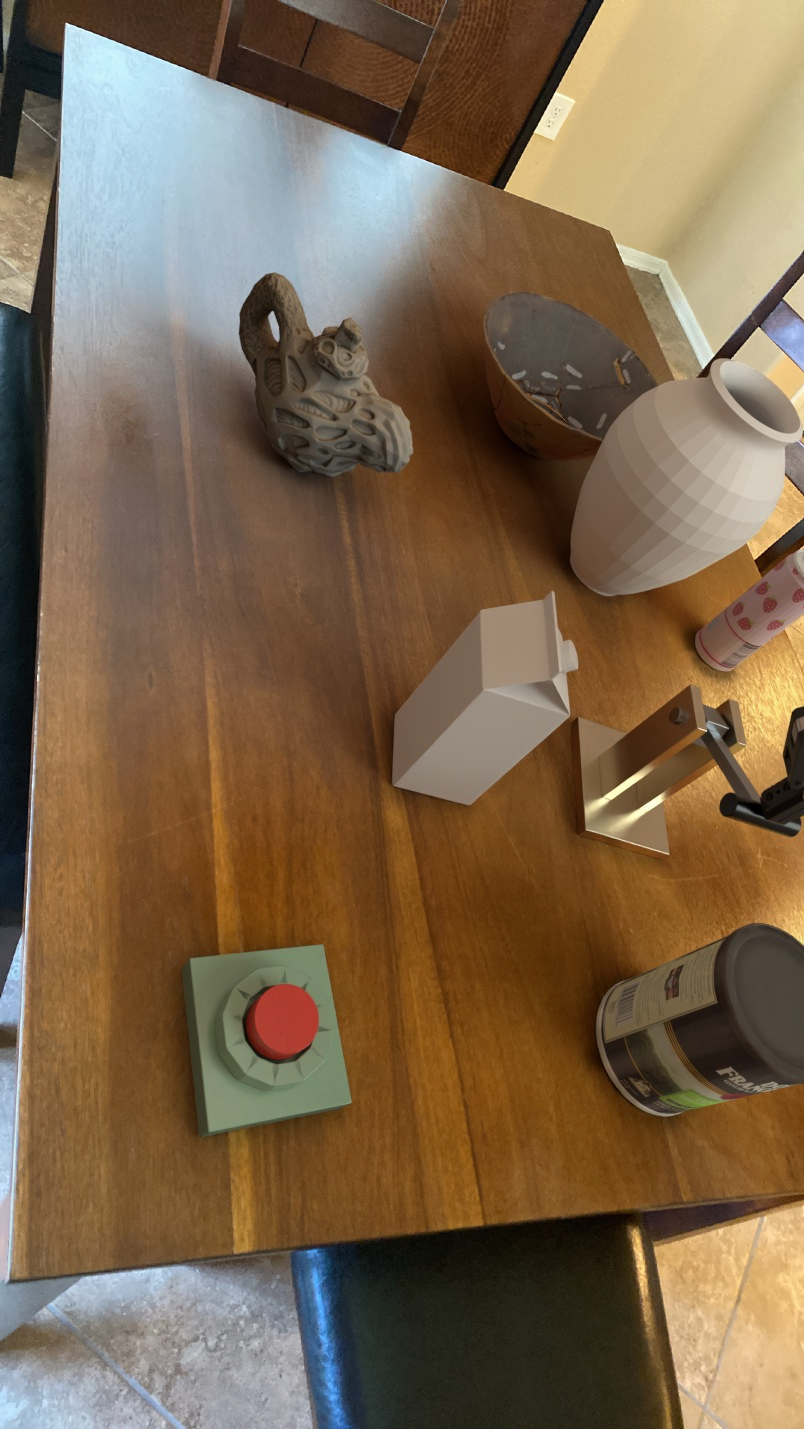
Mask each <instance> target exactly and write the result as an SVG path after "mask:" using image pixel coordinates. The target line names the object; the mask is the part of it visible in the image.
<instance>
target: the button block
mask: <svg viewBox="0 0 804 1429" xmlns="http://www.w3.org/2000/svg"><path fill="white" fill-rule="evenodd" d="M324 947H325V946H324V944H323V943H321V944H319V943H318V944H309V945H301V946H292V947H291V946H290V947H281V948H273V949H264V950H253V951H245V952H243V951H242V952H235V953H225V954H216V955H207V956H196V957H190V958H189V959H188V960H187V961H186V962H185V963H184V965H183V966H182V967H181V976H182V984H183V985H182V986H183V993H184V1003H185V1013H186V1023H187V1033H188V1043H189V1051H190V1061H191V1071H192V1080H193V1091H194V1099H195V1100H194V1101H195V1109H196V1118H197V1128H198V1137H199V1138H204V1137H210V1136H214V1135H219V1134H224V1133H229V1132H234V1131H239V1130H244V1129H248V1128H255V1127H257V1126H263V1125H268V1124H272V1123H273V1124H274V1123H277V1122H282V1121H287V1120H293V1119H298V1118H302V1117H307V1116H313V1115H316V1114H321V1113H327V1112H331V1111H335V1110H340V1109H342V1108H344V1107H346V1106H349V1105H351V1104H352V1102H353V1100H352V1096H351V1090H350V1086H349V1079H348V1074H347V1068H346V1063H345V1058H344V1051H343V1047H342V1041H341V1040H342V1039H341V1036H340V1030H339V1024H338V1019H337V1012H336V1007H335V1001H334V998H333V997H334V996H333V991H332V985H331V979H330V974H329V968H328V964H327V957H326V951H325V948H324ZM280 984H291V985H295V986H298V987H300V988H302V989H303V990H304V991H306V992H307V993H308V994H309V995H310V996H311V997H312V999H313V1001H314V1002H315V1004H316V1007H317V1010H318V1015H319V1025H318V1030H317V1033H316V1035H315V1037H314V1039H313V1041H312V1042H311V1043H310V1044H309V1045H308V1046H307V1047H306V1048H305V1049H303V1050H301V1051H300V1052H298V1053H297V1054H295V1055H293V1056H292V1057H289V1058H287V1059H281V1060H275V1059H270V1058H267V1057H265V1056H263V1055H262V1054H260V1053H259V1052H258V1051H257V1050H256V1049H255V1048H254V1047H253V1045H252V1044H251V1042H250V1040H249V1038H248V1035H247V1030H246V1019H247V1015H248V1011H249V1009H250V1007H251V1006H252V1004H253V1003H254V1002H255V1000H257V999H258V998H259V997H260V996H261V995H262V994H263V993H265V992H266V991H267V990H268V989H270V988H272V987H273V986H276V985H280Z"/></svg>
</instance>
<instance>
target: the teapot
mask: <svg viewBox="0 0 804 1429" xmlns="http://www.w3.org/2000/svg"><path fill="white" fill-rule="evenodd" d="M272 312H273V314H274V317H275V320H276V324H277V326H278V338H279V339H278V340H277V339H276V338H275V336H274V333H273V330H272V326H271V321H270V319H269V316H270V315H271V313H272ZM238 315H239V316H238V317H239V323H238V324H239V326H238V337H239V343H240V347H241V351H242V353H243V355H244V358H245V359H246V361H247V362H248V364H249V366H250V368H251V371H252V373H253V375H254V382H255V386H254V405H255V407H256V412H257V414H258V415H257V416H258V419H259V423H260V425H261V427H262V429H263V432H264V433H265V435H266V437H267V439H268V441H269V442H270V444H271V446H272V447H273V449H274V451H275V453H277V454H278V455H279V456H281V457H282V458H284V459H285V460H286V461H287V462H288V463H289V465H290V466H291V467H293V469H295V470H296V471H297V472H298V473H308V472H312V471H313V472H315V473H317V474H322V475H324V476H326V477H328V478H334V477H337V476H339V475H341V474H342V473H348V472H350V471H353V470H354V469H355V468H356V466H357V465H358V464H359V465H361V466H362V467H365V468H368V469H371V471H374V472H376V473H379V474H381V473H385V474H386V473H395V474H398V475H400V473H401V471H403V469H404V468H405V467H406V465H408V463H409V462H410V461H411V460H410V459H411V456H412V455H413V454H414V447H413V432H412V431H411V421H410V420H409V419H408V417H407V416H406V415H405V413H404V411H403V409H402V406H400V405H398V404H396V403H394V402H392V401H391V400H390V399H386V398H384V397H382V396H380V395H379V393H378V391H377V389H376V387H375V385H374V383H373V381H372V379H371V378H370V377H369V376H368V374H366V373H367V372H368V369H369V368H368V367H369V363H370V360H369V356H368V352H367V350H366V348H365V346H364V345H363V343H362V339H363V332H362V327H360V325H359V324H358V323H357V322H356V321H355V320H354V319H353V318H352V317H351V316H350V317H348V318H345V319H343V320H342V321H341V323H340V324H339V326H338V325H334V326H327V327H324V328H323V330H322V332H321V334H320V335H317V336H315V334H314V333H313V331H312V330H311V327H310V326H309V324H308V321H307V317H306V315H305V311H304V307H303V304H302V302H301V300H300V298H299V294H298V292H297V291H296V289H295V287H294V285H293V283H291V281H290V280H289V279H288V278H287V277H286V276H285V275H283V274H281V273H277V272H269V273H265V274H264V275H263V276H262V277H261V278H260V279H258V281H256V282H255V283H254V284H253V286H252V288H251V290H250V292H249V293H248V295H247V297H246V298H245V300H244V302H243V303H242V306H241V308H240V311H239V314H238Z"/></svg>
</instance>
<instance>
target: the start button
mask: <svg viewBox="0 0 804 1429" xmlns="http://www.w3.org/2000/svg"><path fill="white" fill-rule="evenodd" d="M318 1025H319V1015H318V1010H317V1007H316V1004H315V1002H314V1001H313V999H312V997H311V996H310V995H309V994H308V993H307V992H306V991H304V990H303V989H302V988H300V987H298V986H295V985H291V984H280V985H276V986H273V987H272V988H270V989H268V990H267V991H266V992H265V993H263V994H262V995H261V996H260V997H259V998H258V999H257V1000H255V1002H254V1003H253V1004H252V1006H251V1007H250V1009H249V1011H248V1015H247V1019H246V1030H247V1035H248V1038H249V1040H250V1042H251V1044H252V1045H253V1047H254V1048H255V1049H256V1050H257V1051H258V1052H259V1053H260V1054H262V1055H263V1056H265V1057H267V1058H270V1059H275V1060H281V1059H287V1058H289V1057H292V1056H293V1055H295V1054H297V1053H298V1052H300V1051H301V1050H303V1049H305V1048H306V1047H307V1046H308V1045H309V1044H310V1043H311V1042H312V1041H313V1039H314V1037H315V1035H316V1033H317V1030H318Z"/></svg>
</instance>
